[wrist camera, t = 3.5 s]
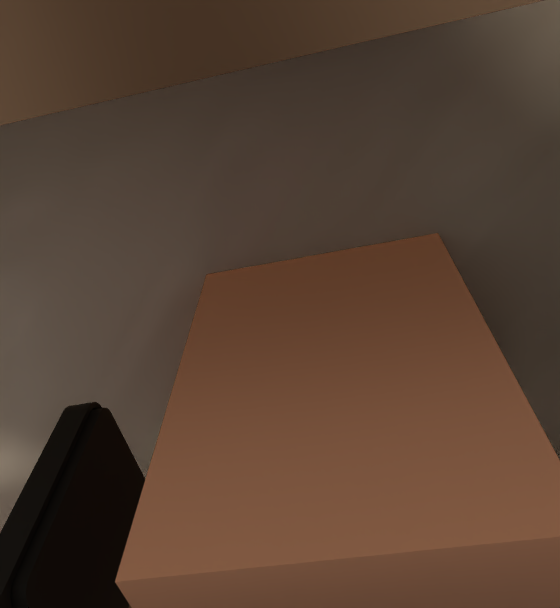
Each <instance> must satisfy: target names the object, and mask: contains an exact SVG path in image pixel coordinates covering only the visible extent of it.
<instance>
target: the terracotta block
mask: <svg viewBox="0 0 560 608" xmlns="http://www.w3.org/2000/svg"><path fill="white" fill-rule="evenodd" d="M115 583H116V584H117V586H118V587H119V589H120V590H121V592H122V594H123V595H124V597H125V598H126V600H127V601H128V603H129V604H130V606H131V607H132V608H560V460H559V458H558V456H557V454H556V452H555V450H554V449H553V447H552V445H551V443H550V441H549V439H548V437H547V436H546V434H545V432H544V430H543V428H542V426H541V424H540V423H539V421H538V419H537V417H536V415H535V413H534V411H533V409H532V408H531V406H530V404H529V402H528V400H527V398H526V396H525V395H524V393H523V391H522V389H521V387H520V385H519V383H518V381H517V380H516V378H515V376H514V374H513V372H512V370H511V368H510V367H509V365H508V363H507V361H506V359H505V357H504V355H503V354H502V352H501V350H500V348H499V346H498V344H497V342H496V340H495V339H494V337H493V335H492V333H491V331H490V329H489V327H488V326H487V324H486V322H485V320H484V318H483V316H482V314H481V312H480V311H479V309H478V307H477V305H476V303H475V301H474V299H473V298H472V296H471V294H470V292H469V290H468V288H467V286H466V285H465V283H464V281H463V279H462V277H461V275H460V273H459V271H458V270H457V268H456V266H455V264H454V262H453V260H452V258H451V257H450V255H449V253H448V251H447V249H446V247H445V245H444V243H443V242H442V240H441V238H440V236H439V234H438V233H435V234H430V235H424V236H418V237H413V238H407V239H402V240H396V241H391V242H385V243H379V244H374V245H368V246H363V247H357V248H351V249H346V250H340V251H335V252H329V253H323V254H318V255H312V256H307V257H301V258H296V259H290V260H284V261H279V262H273V263H268V264H262V265H256V266H251V267H245V268H240V269H234V270H229V271H223V272H217V273H212V274H206V278H205V281H204V285H203V288H202V291H201V295H200V298H199V301H198V305H197V308H196V311H195V315H194V318H193V321H192V325H191V328H190V331H189V335H188V338H187V342H186V345H185V348H184V352H183V355H182V358H181V362H180V365H179V368H178V372H177V375H176V378H175V382H174V385H173V389H172V392H171V395H170V399H169V402H168V405H167V409H166V412H165V415H164V419H163V422H162V425H161V429H160V432H159V435H158V439H157V442H156V446H155V449H154V452H153V456H152V459H151V462H150V466H149V469H148V472H147V476H146V479H145V482H144V486H143V489H142V492H141V496H140V499H139V503H138V506H137V509H136V513H135V516H134V519H133V523H132V526H131V529H130V533H129V536H128V539H127V543H126V546H125V550H124V553H123V556H122V560H121V563H120V566H119V570H118V573H117V576H116V580H115Z"/></svg>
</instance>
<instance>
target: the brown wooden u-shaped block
mask: <svg viewBox="0 0 560 608" xmlns="http://www.w3.org/2000/svg"><path fill="white" fill-rule="evenodd" d="M540 1H544V0H0V125H4V124H9V123H13V122H17V121H22V120H26V119H30V118H35V117H39V116H43V115H48V114H52V113H56V112H61V111H65V110H70V109H74V108H78V107H83V106H87V105H91V104H96V103H100V102H104V101H109V100H113V99H117V98H122V97H126V96H130V95H135V94H139V93H144V92H148V91H152V90H157V89H161V88H165V87H170V86H174V85H178V84H183V83H187V82H191V81H196V80H200V79H204V78H209V77H213V76H217V75H222V74H226V73H231V72H235V71H239V70H244V69H248V68H252V67H257V66H261V65H265V64H270V63H274V62H278V61H283V60H287V59H291V58H296V57H300V56H305V55H309V54H313V53H318V52H322V51H326V50H331V49H335V48H339V47H344V46H348V45H352V44H357V43H361V42H365V41H370V40H374V39H379V38H383V37H387V36H392V35H396V34H400V33H405V32H409V31H413V30H418V29H422V28H426V27H431V26H435V25H439V24H444V23H448V22H452V21H457V20H461V19H466V18H470V17H474V16H479V15H483V14H487V13H492V12H496V11H500V10H505V9H509V8H513V7H518V6H522V5H526V4H531V3H535V2H540ZM129 608H132V607H131V606H130V605H129Z"/></svg>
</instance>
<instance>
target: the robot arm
mask: <svg viewBox="0 0 560 608" xmlns="http://www.w3.org/2000/svg"><path fill="white" fill-rule="evenodd" d="M144 482H145V478H144V476H143V474H142V472H141V470H140V468H139V466H138V464H137V462H136V460H135V458H134V456H133V455H132V453H131V451H130V449H129V447H128V445H127V443H126V441H125V439H124V437H123V435H122V433H121V431H120V429H119V427H118V425H117V423H116V421H115V419H114V418H113V416H112V414H111V412H110V410H109V409H107V408H102V407H101V405H100V404H98V403H97V402H92V403H86V404H79V405H73V406H68V407H67V408H65V410H64V411H63V413H62V415H61V417H60V419H59V421H58V422H57V424H56V426H55V428H54V430H53V432H52V434H51V436H50V438H49V440H48V442H47V444H46V446H45V448H44V450H43V451H42V453H41V455H40V457H39V459H38V461H37V463H36V465H35V467H34V469H33V471H32V473H31V475H30V477H29V479H28V480H27V482H26V484H25V486H24V488H23V490H22V492H21V494H20V496H19V498H18V500H17V502H16V504H15V506H14V508H13V509H12V511H11V513H10V515H9V517H8V519H7V521H6V523H5V525H4V527H3V529H2V531H1V533H0V608H129V605H130V604H129V603H128V601H127V600H126V598H125V597H124V595H123V594H122V592H121V590H120V589H119V587H118V586H117V584H116V583H115V580H116V576H117V573H118V570H119V566H120V563H121V560H122V556H123V553H124V550H125V546H126V543H127V539H128V536H129V533H130V529H131V526H132V523H133V519H134V516H135V513H136V509H137V506H138V503H139V499H140V496H141V492H142V489H143V486H144Z"/></svg>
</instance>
